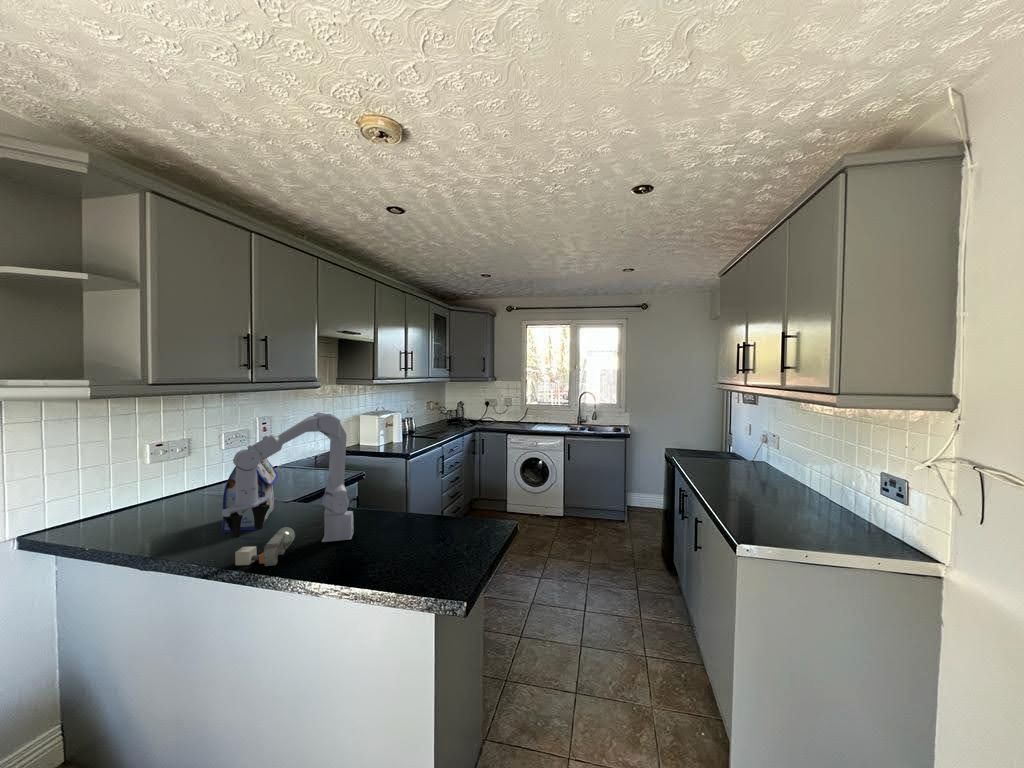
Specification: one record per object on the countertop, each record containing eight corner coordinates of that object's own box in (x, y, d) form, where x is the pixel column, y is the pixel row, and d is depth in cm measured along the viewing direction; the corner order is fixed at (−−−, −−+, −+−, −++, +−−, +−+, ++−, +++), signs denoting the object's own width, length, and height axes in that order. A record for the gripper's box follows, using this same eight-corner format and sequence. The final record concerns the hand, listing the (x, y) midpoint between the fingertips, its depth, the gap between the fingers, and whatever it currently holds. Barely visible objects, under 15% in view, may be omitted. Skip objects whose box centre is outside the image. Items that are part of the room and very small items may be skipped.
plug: (271, 558, 131) (271, 545, 131) (264, 564, 127) (264, 551, 127) (243, 559, 130) (243, 546, 130) (235, 565, 126) (235, 552, 126)
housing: (295, 543, 143) (294, 526, 143) (280, 564, 127) (280, 545, 127) (276, 545, 142) (276, 528, 142) (259, 566, 125) (259, 547, 125)
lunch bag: (271, 528, 158) (270, 457, 158) (219, 534, 152) (218, 460, 152) (280, 511, 179) (279, 448, 179) (234, 516, 173) (233, 451, 173)
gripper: (234, 496, 122) (235, 542, 122) (276, 484, 136) (277, 526, 136) (216, 494, 124) (217, 540, 124) (259, 482, 138) (260, 524, 138)
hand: (247, 532), depth 130 cm, fingers open, 7 cm apart
